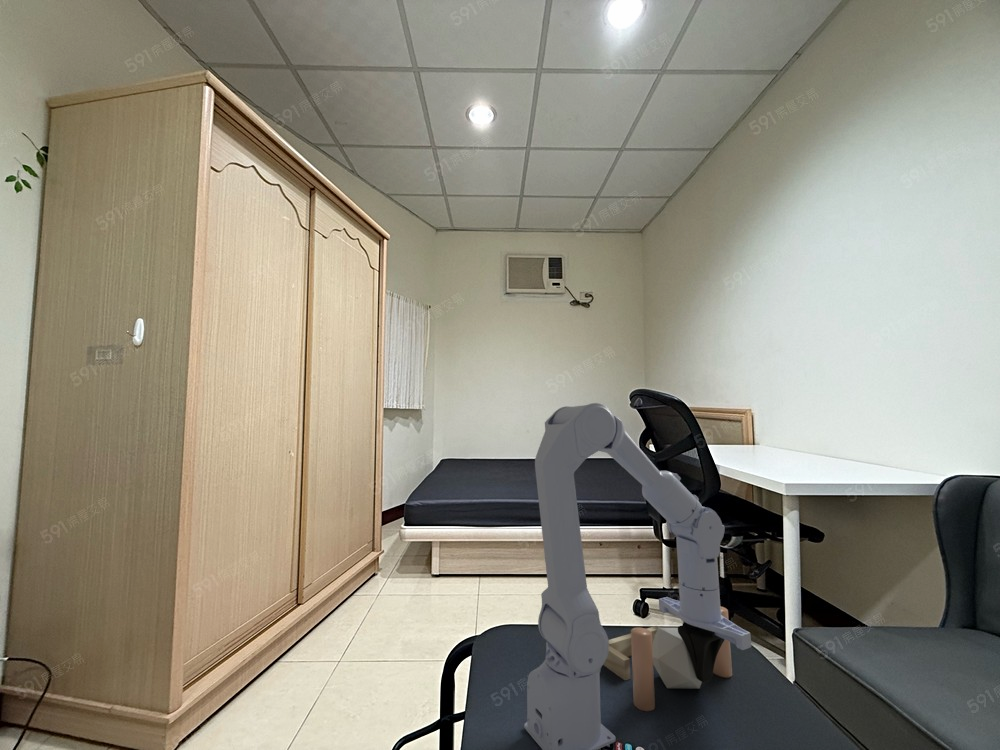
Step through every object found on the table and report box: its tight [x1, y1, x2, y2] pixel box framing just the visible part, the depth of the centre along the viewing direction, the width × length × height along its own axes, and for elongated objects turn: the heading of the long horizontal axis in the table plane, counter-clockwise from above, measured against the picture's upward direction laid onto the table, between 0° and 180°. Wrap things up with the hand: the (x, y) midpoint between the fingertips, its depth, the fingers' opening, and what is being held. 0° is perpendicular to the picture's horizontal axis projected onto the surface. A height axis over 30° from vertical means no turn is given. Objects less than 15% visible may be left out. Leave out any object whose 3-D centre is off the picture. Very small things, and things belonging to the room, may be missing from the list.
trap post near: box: [630, 626, 656, 712], centre depth 63 cm, size 3×3×10 cm
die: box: [652, 627, 703, 689], centre depth 68 cm, size 8×9×10 cm
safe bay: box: [603, 625, 660, 681], centre depth 74 cm, size 14×6×3 cm, turn 118°
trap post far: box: [713, 605, 733, 679], centre depth 71 cm, size 3×3×10 cm
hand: (704, 678), depth 63 cm, fingers closed
